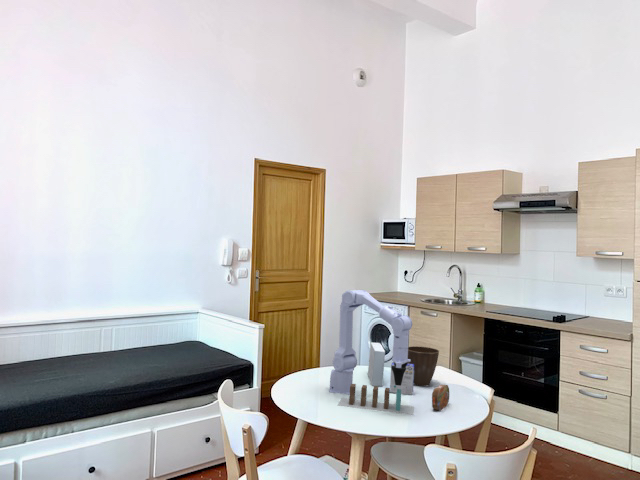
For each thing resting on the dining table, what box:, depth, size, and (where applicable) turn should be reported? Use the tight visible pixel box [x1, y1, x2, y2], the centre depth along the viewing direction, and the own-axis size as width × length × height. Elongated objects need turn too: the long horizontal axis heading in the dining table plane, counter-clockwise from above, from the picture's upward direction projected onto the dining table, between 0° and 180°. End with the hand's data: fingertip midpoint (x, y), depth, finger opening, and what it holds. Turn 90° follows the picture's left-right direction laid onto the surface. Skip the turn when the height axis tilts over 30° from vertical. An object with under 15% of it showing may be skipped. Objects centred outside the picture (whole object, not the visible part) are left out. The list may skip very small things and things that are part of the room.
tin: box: [431, 384, 450, 412], centre depth 195 cm, size 15×3×8 cm, turn 148°
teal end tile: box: [395, 389, 402, 411], centre depth 190 cm, size 2×4×7 cm, turn 167°
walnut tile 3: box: [371, 386, 379, 408], centre depth 192 cm, size 2×4×7 cm, turn 167°
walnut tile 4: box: [383, 387, 391, 409], centre depth 191 cm, size 2×4×7 cm, turn 167°
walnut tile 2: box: [360, 384, 368, 406], centre depth 193 cm, size 2×4×7 cm, turn 167°
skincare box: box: [367, 342, 386, 387], centre depth 231 cm, size 21×5×16 cm, turn 179°
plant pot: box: [408, 345, 440, 387], centre depth 228 cm, size 15×15×16 cm
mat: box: [336, 397, 415, 416], centre depth 192 cm, size 29×10×1 cm, turn 77°
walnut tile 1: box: [348, 383, 357, 405], centre depth 194 cm, size 2×4×7 cm, turn 167°
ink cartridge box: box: [389, 361, 415, 396], centre depth 214 cm, size 10×6×14 cm, turn 78°
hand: (398, 382), depth 190 cm, fingers open, 7 cm apart
